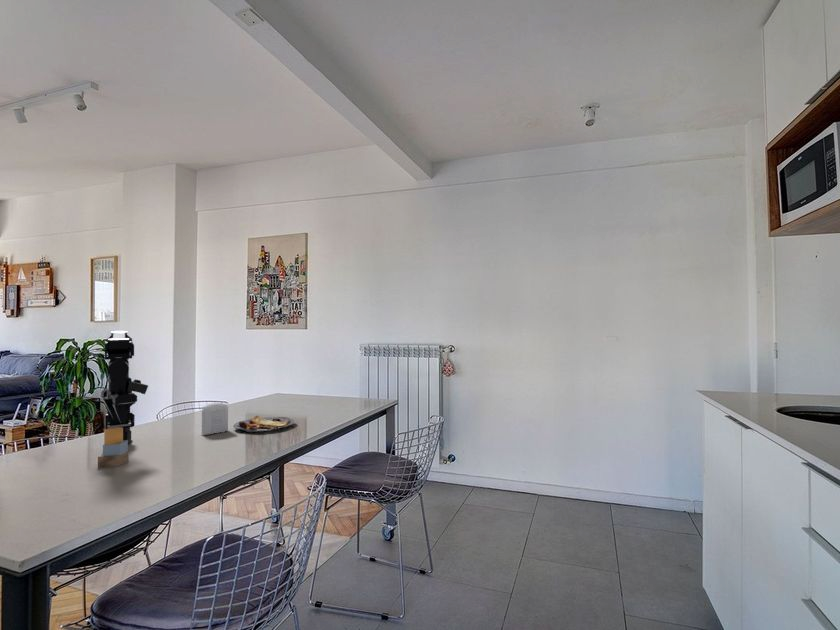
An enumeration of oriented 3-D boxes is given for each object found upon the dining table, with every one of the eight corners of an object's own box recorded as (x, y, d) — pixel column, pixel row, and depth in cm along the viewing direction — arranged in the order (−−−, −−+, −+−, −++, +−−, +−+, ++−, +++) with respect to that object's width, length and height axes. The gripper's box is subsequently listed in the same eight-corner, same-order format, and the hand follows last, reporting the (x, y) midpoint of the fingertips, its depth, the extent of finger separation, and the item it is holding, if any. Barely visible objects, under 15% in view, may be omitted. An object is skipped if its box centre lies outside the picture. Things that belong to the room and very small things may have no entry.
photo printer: (225, 429, 187) (225, 400, 187) (229, 431, 184) (229, 402, 184) (200, 434, 180) (200, 404, 180) (203, 436, 177) (203, 405, 177)
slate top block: (103, 456, 140) (102, 445, 140) (111, 451, 145) (111, 441, 145) (120, 455, 141) (120, 444, 141) (127, 450, 146) (127, 440, 146)
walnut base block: (97, 468, 139) (97, 457, 139) (109, 462, 145) (109, 451, 145) (117, 467, 140) (117, 456, 140) (128, 461, 146) (128, 450, 146)
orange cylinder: (100, 445, 140) (100, 431, 140) (110, 441, 145) (110, 427, 145) (117, 444, 140) (117, 430, 140) (126, 440, 145) (126, 427, 145)
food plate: (221, 431, 184) (222, 422, 185) (259, 420, 206) (260, 412, 206) (270, 437, 176) (270, 428, 176) (304, 425, 198) (304, 417, 198)
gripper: (154, 375, 149) (154, 420, 149) (137, 370, 162) (137, 412, 162) (115, 378, 141) (115, 427, 141) (100, 373, 153) (100, 418, 153)
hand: (118, 420), depth 149 cm, fingers open, 9 cm apart
